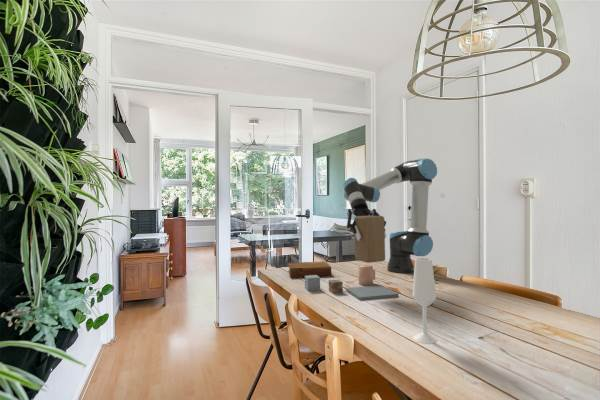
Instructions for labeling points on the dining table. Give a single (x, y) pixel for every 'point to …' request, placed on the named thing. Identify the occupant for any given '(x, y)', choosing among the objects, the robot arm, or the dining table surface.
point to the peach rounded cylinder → (366, 275)
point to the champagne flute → (424, 293)
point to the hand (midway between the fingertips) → (372, 238)
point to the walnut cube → (335, 286)
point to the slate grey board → (371, 292)
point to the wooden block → (370, 239)
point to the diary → (309, 269)
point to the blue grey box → (312, 282)
